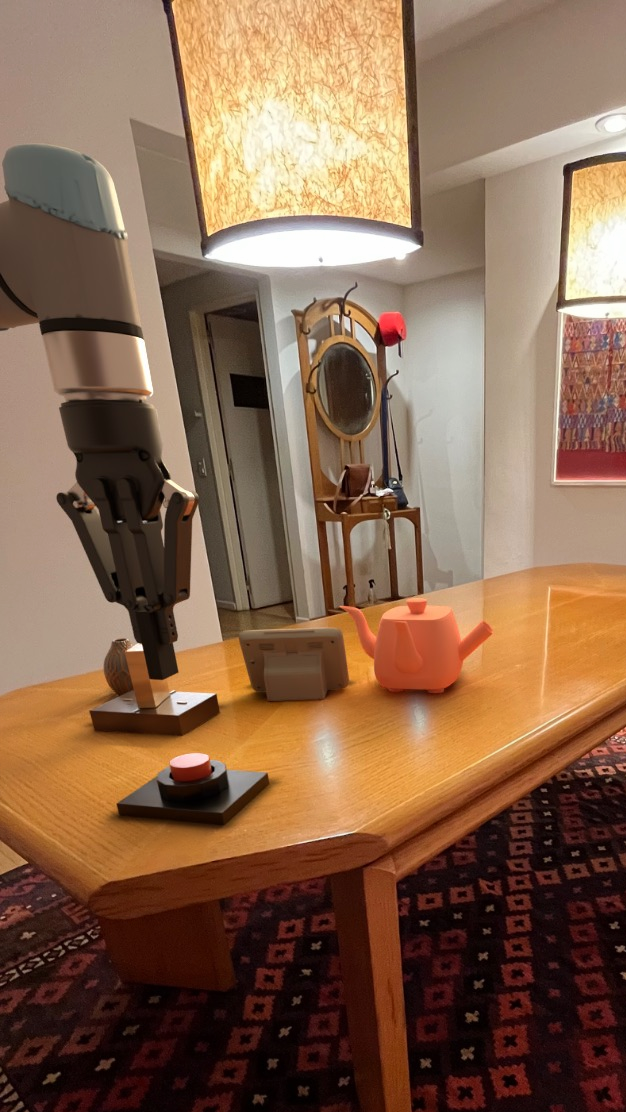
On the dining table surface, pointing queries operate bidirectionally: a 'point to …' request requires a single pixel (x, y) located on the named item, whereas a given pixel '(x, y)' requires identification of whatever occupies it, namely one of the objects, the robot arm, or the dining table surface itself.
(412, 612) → the teapot
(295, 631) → the digital clock
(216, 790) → the button block
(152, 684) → the handle
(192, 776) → the button
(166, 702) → the panel
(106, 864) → the dining table surface
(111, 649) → the vase
